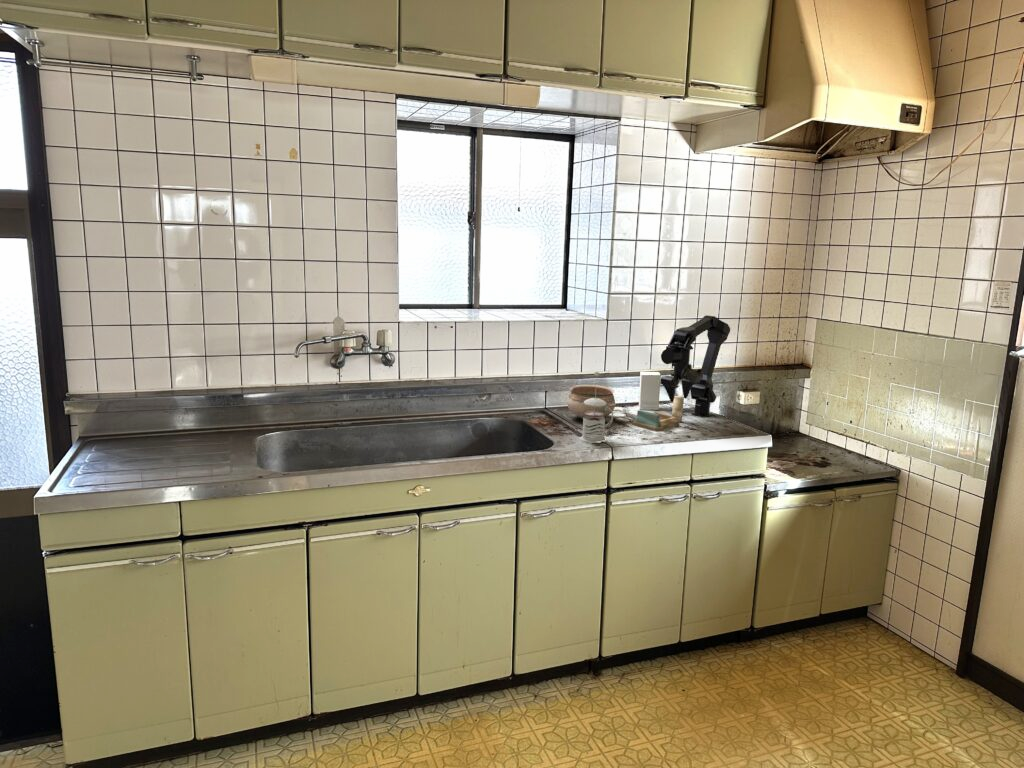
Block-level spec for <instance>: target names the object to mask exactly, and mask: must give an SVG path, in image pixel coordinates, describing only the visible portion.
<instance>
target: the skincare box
mask: <svg viewBox="0 0 1024 768" xmlns="http://www.w3.org/2000/svg"><path fill="white" fill-rule="evenodd" d="M639 374H640V375H639V392H638V393H639V395H638V408H639V410H643V411H660V410H659V407H660V391H661V390H660V389H661V378H662V377H661V376H662V375H661V373H660V372H659V371H640V373H639Z"/></svg>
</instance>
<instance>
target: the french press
mask: <svg viewBox="0 0 1024 768" xmlns="http://www.w3.org/2000/svg"><path fill="white" fill-rule="evenodd" d="M593 375H594V376H596V377H595V378H596V379H595V385H598V383H597V382H598V381H597V380H598V376H600V372H599V371H594V373H593ZM584 404H585V405H588V406H594V407H601V406H605V405H606V402H605V401H604V400H601V399H599V398H596V392H595V398H590V399H587V400H585V401H584ZM605 407H606V408H608V409H610V408H609V407H607V406H605ZM610 410H611V409H610ZM605 411H606V409H605ZM584 414H585V415H586V416H584V417H583V420H582V436H580V437H579V439H581V440H583V441H588V442H594V441H601V440H605V439H606V438H605V434H606V428H607V427H609V426H610V425H612V423H613V422H614V421H613V420H614V412H613V411H612V410H611V418H610V420H609V421H608V423H607V424H606V418H605V417H602V416H604V413H602V412H595V409H594V411H587V412H585V413H584ZM591 418H597V419H599V420H590V419H591ZM581 440H580V441H581Z"/></svg>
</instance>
